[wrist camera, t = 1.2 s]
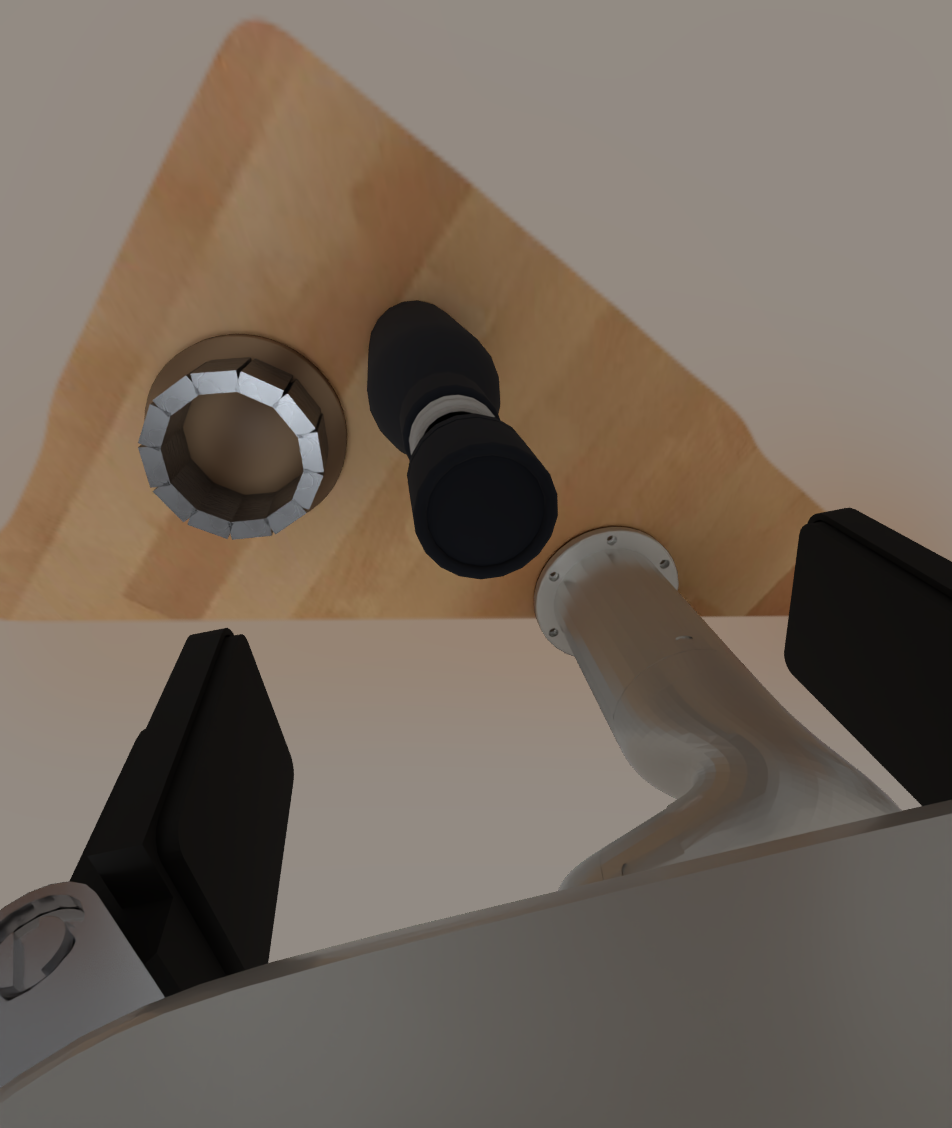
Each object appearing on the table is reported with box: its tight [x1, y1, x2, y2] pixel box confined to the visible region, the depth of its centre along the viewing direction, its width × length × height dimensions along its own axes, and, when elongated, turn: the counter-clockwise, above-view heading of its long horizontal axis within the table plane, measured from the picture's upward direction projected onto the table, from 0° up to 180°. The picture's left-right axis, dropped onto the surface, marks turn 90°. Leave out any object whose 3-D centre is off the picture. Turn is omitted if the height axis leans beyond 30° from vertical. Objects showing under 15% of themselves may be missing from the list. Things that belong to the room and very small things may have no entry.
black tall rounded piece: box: [367, 301, 558, 579], centre depth 29 cm, size 6×6×30 cm
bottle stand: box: [138, 334, 347, 540], centre depth 41 cm, size 13×13×6 cm
